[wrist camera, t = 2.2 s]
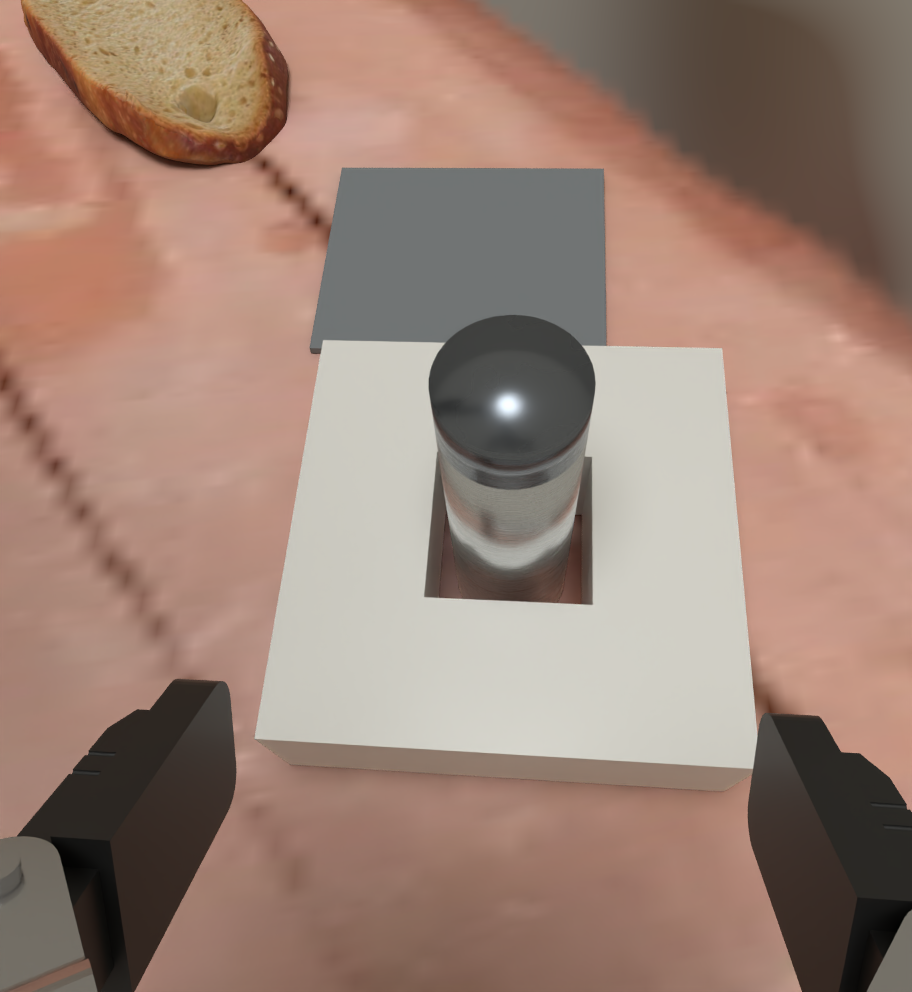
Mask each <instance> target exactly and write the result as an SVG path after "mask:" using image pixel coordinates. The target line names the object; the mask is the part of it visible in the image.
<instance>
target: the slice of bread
mask: <svg viewBox="0 0 912 992" xmlns="http://www.w3.org/2000/svg"><path fill="white" fill-rule="evenodd" d="M21 5H22V10H23V13H24V22H25V25H26V26H27V28H28V31H29V33H30V35H31V37H32V39H33V41H34V43H35V45H36V46H37V48H38V50H39V51H40V52H41V53H42V54H43V56H44V57H45V59H46V60H47V61H48V63H49V64H50V65H51V66H52V67H53V68H55V69H56V71H57V72H58V73H59V75H60V76H61V77H62V78H63V79H64V81H65V82H66V83H67V85H68V86H69V87H70V88H71V90H72V91H73V92H74V93H75V95H76V96H77V97H78V98H79V100H80V101H81V102H82V103H83V104H84V105H85V106H86V107H87V108H88V109H89V110H90V111H91V112H92V113H93V114H94V115H95V116H96V117H97V118H98V119H99V120H100V121H101V122H102V123H103V124H104V125H105V126H106V127H108V128H109V129H111V130H112V131H114V132H116V133H120V134H122V135H124V136H126V137H127V138H129V139H130V140H132V141H133V142H135V143H136V144H138V145H140V146H141V147H143V148H145V149H146V150H148V151H150V152H152V153H154V154H156V155H159V156H161V157H164V158H167V159H171V160H176V161H181V162H186V163H193V164H203V165H218V164H223V163H242V162H245V161H248V160H250V159H252V158H253V157H255V156H256V155H257V154H259V153H260V152H261V151H262V150H263V149H264V148H265V147H266V146H267V145H268V144H269V143H270V142H271V141H272V140H273V139H274V138H275V137H276V135H277V134H278V133H279V132H280V131H281V130H282V128H283V127H284V125H285V123H286V120H287V114H286V109H287V81H288V69H287V68H288V67H287V63H286V61H285V59H284V57H283V55H282V53H281V52H280V50H279V49H278V47H277V46H276V45H275V43H274V41H273V39H272V38H271V36H270V34H269V33H268V31H267V30H266V28H265V26H264V25H263V23H262V22H261V20H260V19H259V18H258V17H257V16H256V15H255V14H254V13H253V11H252V10H251V9H250V8H249V7H248V6H247V5H246V4H245V3H243V1H242V0H21Z"/></svg>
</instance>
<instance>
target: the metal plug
mask: <svg viewBox="0 0 912 992" xmlns="http://www.w3.org/2000/svg"><path fill="white" fill-rule="evenodd" d="M595 386H596V381H595V372H594V368H593V365H592V362H591V360H590V358H589V356H588V354H587V352H586V351H585V349H584V348H583V346H582V345H581V344H580V343H579V342H578V341H577V340H576V339H575V338H574V337H573V336H572V335H571V334H570V333H568V332H567V331H565V330H564V329H562V328H561V327H559V326H557V325H555V324H553V323H551V322H548V321H546V320H543V319H539V318H536V317H531V316H525V315H502V316H494V317H490V318H486V319H483V320H480V321H477V322H474V323H472V324H470V325H468V326H466V327H464V328H463V329H461V330H460V331H458V332H457V333H456V334H454V335H453V336H452V337H451V338H450V339H449V340H448V341H447V342H446V343H445V344H444V345H443V346H442V348H441V349H440V350H439V352H438V353H437V355H436V357H435V359H434V361H433V364H432V367H431V369H430V374H429V387H428V388H429V395H430V402H431V409H432V415H433V422H434V429H435V435H436V442H437V448H438V455H439V462H440V468H441V475H442V481H443V488H444V494H445V501H446V508H447V514H448V521H449V527H450V534H451V541H452V547H453V554H454V560H455V567H456V573H457V580H458V587H459V590H460V593H461V596H462V598H463V599H473V600H495V601H517V602H539V603H557V602H558V600H559V598H560V596H561V594H562V591H563V586H564V581H565V575H566V568H567V562H568V556H569V550H570V544H571V538H572V531H573V525H574V519H575V513H576V507H577V500H578V494H579V488H580V482H581V476H582V470H583V463H584V457H585V451H586V445H587V439H588V433H589V426H590V420H591V414H592V408H593V402H594V395H595Z"/></svg>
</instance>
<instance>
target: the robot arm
mask: <svg viewBox="0 0 912 992" xmlns="http://www.w3.org/2000/svg"><path fill="white" fill-rule="evenodd" d="M235 783H236V758H235V747H234V735H233V723H232V712H231V700H230V692H229V688H228V686H227V684H226V683H225V682H223V681H207V680H189V679H175V680H174V681H173V682H172V683H171V684H170V685H169V686H168V687H167V689H166V690H165V691H164V693H163V694H162V695H161V696H160V698H159V699H158V700H157V701H156V703H155V704H154V705H153V707H152V708H151V709H150V710H139V709H137V710H136V711H134V712H132V713H131V714H129V715H128V716H126V717H125V718H123V719H121V720H120V721H118V722H117V723H115V724H113V725H112V726H110V727H109V728H107V730H106V731H105V732H104V733H103V734H102V736H101V737H100V738H99V739H98V740H97V741H96V743H95V744H94V745H93V746H92V747H91V749H90V750H89V754H88V755H85V756H84V757H83V758H82V759H81V760H80V762H79V763H78V764H77V765H76V766H75V768H74V769H73V773H72V774H69V775H68V776H67V777H66V778H65V779H64V781H63V782H62V783H61V784H60V785H59V787H58V788H57V789H56V790H55V791H54V793H53V794H52V795H51V796H50V797H49V798H48V800H47V801H46V802H45V803H44V804H43V806H42V807H41V808H40V809H39V810H38V812H37V813H36V814H35V815H34V816H33V818H32V819H31V820H30V821H29V822H28V823H27V825H26V826H25V827H24V828H23V829H22V831H21V832H20V833H19V834H18V835H17V837H10V838H4V839H0V992H134V991H135V990H136V988H137V986H138V984H139V982H140V980H141V978H142V976H143V974H144V972H145V970H146V968H147V966H148V964H149V963H150V961H151V959H152V957H153V955H154V953H155V951H156V949H157V947H158V945H159V943H160V941H161V939H162V938H163V936H164V934H165V932H166V930H167V928H168V926H169V924H170V922H171V920H172V918H173V916H174V914H175V912H176V911H177V909H178V907H179V905H180V903H181V901H182V899H183V897H184V895H185V893H186V891H187V889H188V887H189V886H190V884H191V882H192V880H193V878H194V876H195V874H196V872H197V870H198V868H199V866H200V864H201V862H202V860H203V859H204V857H205V855H206V853H207V851H208V849H209V847H210V845H211V843H212V841H213V839H214V837H215V835H216V834H217V832H218V830H219V828H220V826H221V824H222V822H223V820H224V818H225V816H226V814H227V812H228V810H229V808H230V805H231V802H232V799H233V795H234V790H235ZM906 805H907V804H906V803H905V801H904V800H903V798H902V796H901V795H900V793H899V792H898V790H897V789H896V787H895V785H894V784H893V782H892V781H891V779H890V778H889V777H888V776H887V775H886V774H884V773H883V772H882V771H881V770H879V769H878V768H877V767H876V766H874V765H873V764H872V763H871V762H869V761H868V760H867V759H866V758H864V757H863V756H862V755H861V754H859V753H843V752H841V751H840V750H839V748H838V746H837V744H836V743H835V741H834V739H833V737H832V736H831V734H830V732H829V730H828V729H827V727H826V725H825V724H824V722H823V720H822V719H821V718H820V717H819V716H812V715H794V714H776V713H765V714H764V715H763V716H762V718H761V721H760V724H759V730H758V737H757V744H756V751H755V758H754V765H753V773H752V780H751V787H750V794H749V801H748V827H749V835H750V841H751V845H752V848H753V852H754V854H755V857H756V860H757V863H758V866H759V869H760V872H761V875H762V877H763V880H764V883H765V886H766V889H767V892H768V895H769V898H770V901H771V903H772V906H773V909H774V912H775V915H776V918H777V921H778V924H779V926H780V929H781V932H782V935H783V938H784V941H785V944H786V947H787V949H788V952H789V955H790V958H791V961H792V964H793V967H794V970H795V972H796V975H797V978H798V981H799V984H800V987H801V990H802V992H912V812H911V811H910V810H907V807H906Z"/></svg>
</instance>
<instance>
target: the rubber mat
mask: <svg viewBox="0 0 912 992" xmlns="http://www.w3.org/2000/svg"><path fill="white" fill-rule="evenodd" d="M502 315H525V316H531V317H536V318H539V319H543V320H546V321H548V322H551V323H553V324H555V325H557V326H559V327H561V328H562V329H564V330H565V331H567V332H568V333H570V334H571V335H572V336H573V337H574V338H575V339H576V340H577V341H578V342H579V343H580V344H581V345H583V346H606V292H605V226H604V169H531V168H342V171H341V177H340V182H339V188H338V193H337V199H336V204H335V210H334V215H333V221H332V226H331V232H330V238H329V243H328V249H327V254H326V260H325V265H324V271H323V276H322V282H321V288H320V293H319V299H318V304H317V310H316V315H315V321H314V326H313V332H312V337H311V343H310V351H311V353H321V349H322V343H323V340H340V341H389V342H437V343H446V342H447V341H448V340H449V339H450V338H451V337H452V336H453V335H454V334H456V333H457V332H458V331H460V330H461V329H463V328H464V327H466V326H468V325H470V324H472V323H474V322H477V321H480V320H483V319H486V318H490V317H494V316H502Z"/></svg>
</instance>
